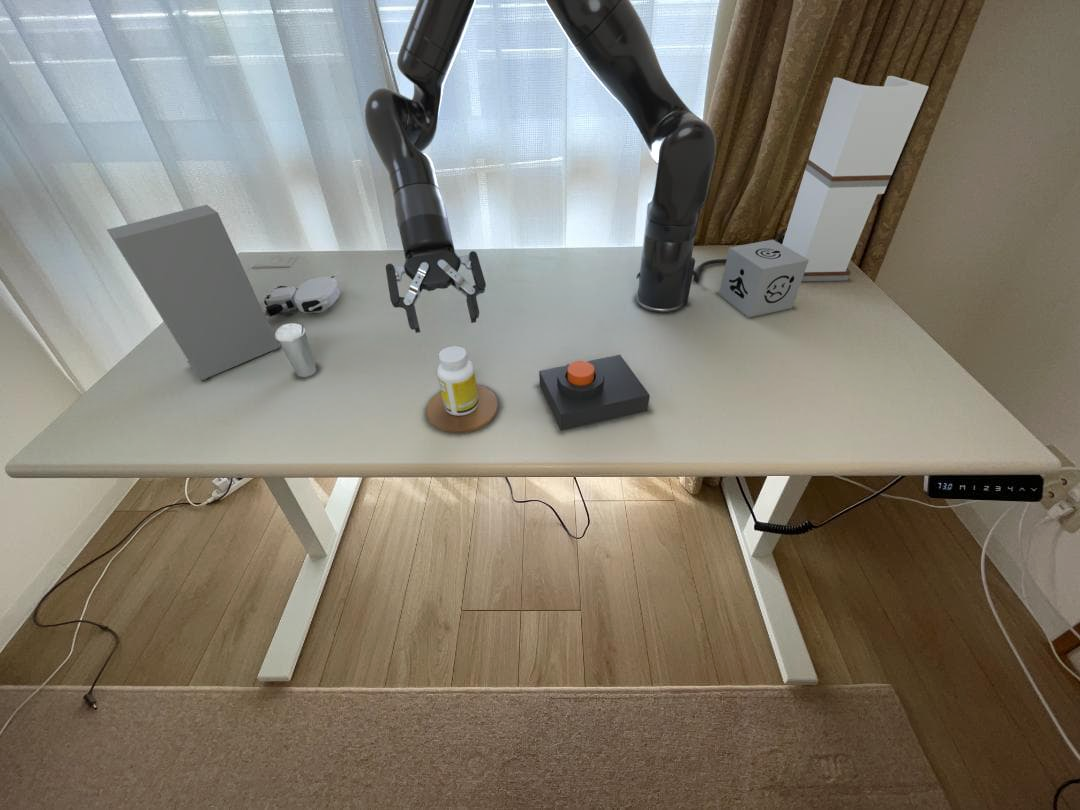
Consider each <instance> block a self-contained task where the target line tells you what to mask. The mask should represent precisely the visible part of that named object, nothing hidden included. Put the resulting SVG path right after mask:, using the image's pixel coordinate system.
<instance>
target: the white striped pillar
mask: <svg viewBox="0 0 1080 810" xmlns="http://www.w3.org/2000/svg"><path fill="white" fill-rule="evenodd" d="M928 90H929V85H925V84H922V83H918V82H916V81H912V80H908V79H905V78H902V77H898V76H894V75H887V77H886V79H885V81H884V85H883V86H879V85H869V84H868V85H867V84H861V83H855V82H852V81H849V80H847V79H845V78H841V77H833V78H832V82H831V85H830V88H829V91H828V94H827V97H826V100H825V104H824V108H823V111H822V113H821V117H820V121H819V123H818V127H817V130H816V133H815V137H814V140H813V144H812V146H811V149H810V153H809V155H808V160H807V162H806V166H805V170H804V172H803V176H802V179H801V182H800V185H799V189H798V192H797V195H796V197H795V202H794V204H793V208H792V210H791V215H790V218H789V221H788V224H787V226H786V227H787V230H786V231H785V233H784V238H783V240H782V243H781V244H782V245H784V246H785V247H787V248H789V249H791V250H792V251H794V252H796V253H798V254H799V255H801V256H803V257H805V258H806V259H808V260H809V261H808V264H807V267H806V270H805V272H804V275H803V278H802V281H801V282H837V281H838V282H839V281H840V282H841V281H848V280H849V277H850V276H851V272H852V271H851V270H850V269H849V268H848V267H849V264H850V261H851V259H852V257H853V254H854V252H855V250H856V247H857V245H858V242H859V240H860V237H861V235H862V233H863V230H864V228H865V226H866V223H867V220H868V218H869V216H870V213H871V212H872V208H873V206H874V204H875V201H876V198H877V197H878V195H883V194H885V192H886V190H887V187H888V185H889V182H890V181H891V178H892V175H893V173H894V170H895V169H896V166H897V164H898V162H899V159H900V156H901V154H902V152H903V149H904V146H905V144H906V142H907V140H908V137H909V135H910V132H911V130H912V128H913V125H914V123H915V121H916V118H917V116H918V113H919V111H920V109H921V106H922V104H923V102H924V99H925V97H926V94H927V92H928Z"/></svg>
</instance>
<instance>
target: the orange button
mask: <svg viewBox="0 0 1080 810" xmlns="http://www.w3.org/2000/svg"><path fill="white" fill-rule="evenodd" d="M586 361H587V360H586ZM586 361H585V360H576V361H573V362H571V363H569V364H570V365H569V366H568V381H569V382H570V383H572V384H574V385H580V386H584V385H588V384H590V383H592V382H593V380H594V366H593V365H592V364H591V363H589V362H586Z"/></svg>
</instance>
